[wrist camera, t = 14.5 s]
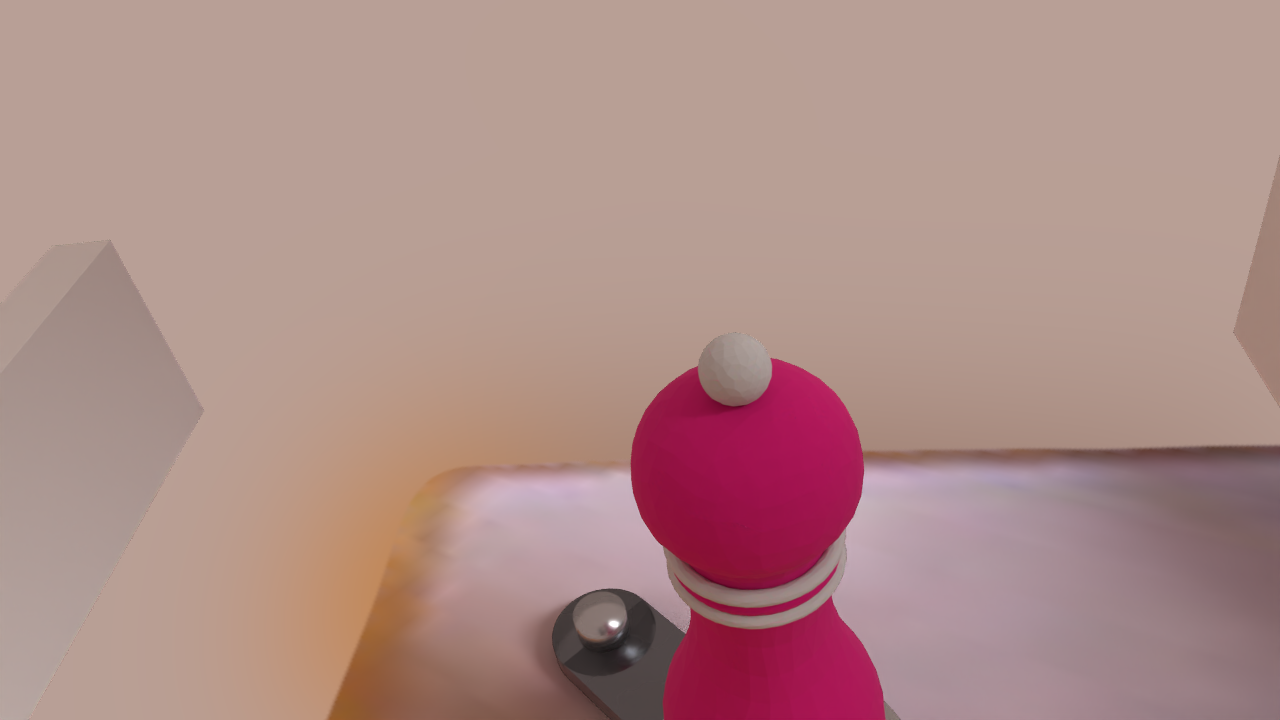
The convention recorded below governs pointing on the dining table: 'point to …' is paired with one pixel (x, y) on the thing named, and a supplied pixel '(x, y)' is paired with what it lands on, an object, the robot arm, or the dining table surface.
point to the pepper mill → (755, 537)
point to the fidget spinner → (620, 653)
